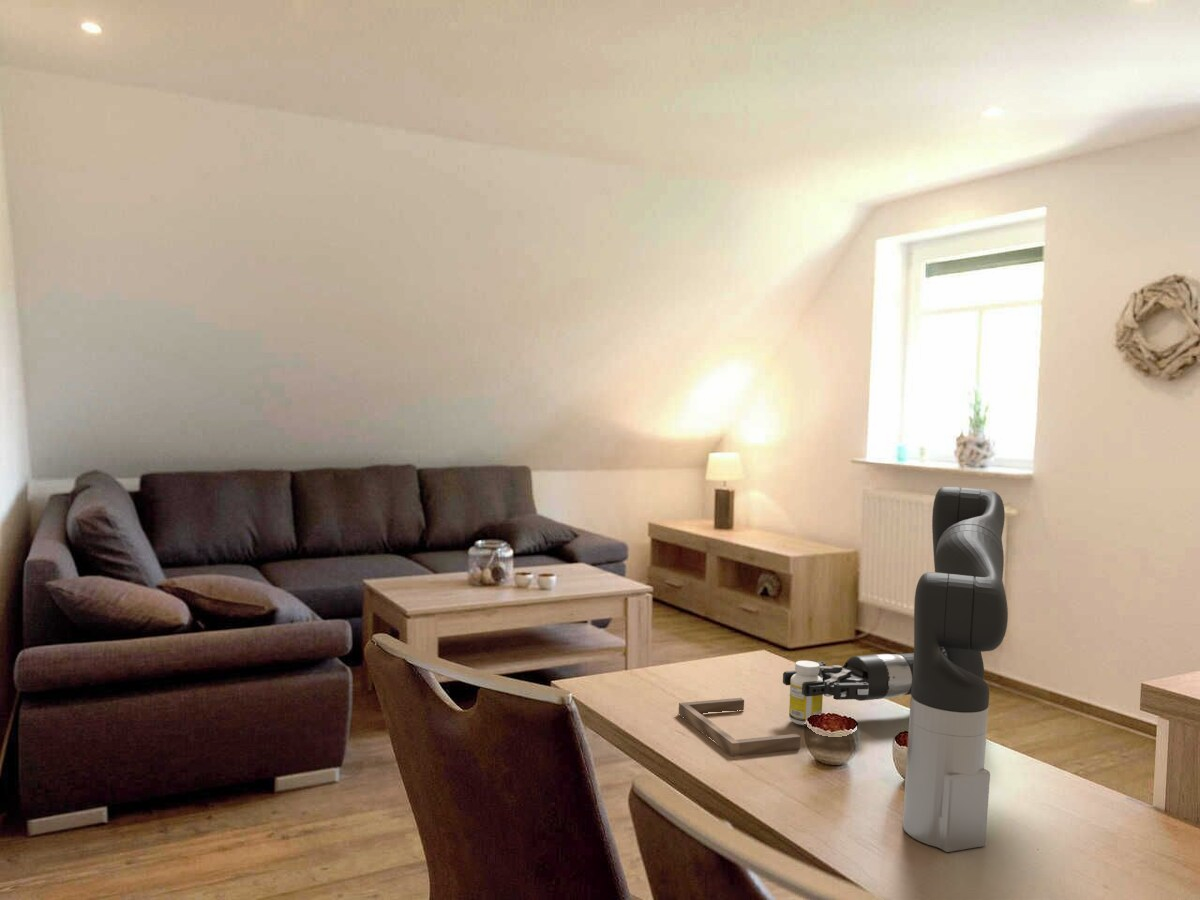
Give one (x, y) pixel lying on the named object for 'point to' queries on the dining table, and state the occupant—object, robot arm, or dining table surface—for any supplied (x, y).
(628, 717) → the dining table surface
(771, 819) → the dining table surface
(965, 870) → the dining table surface
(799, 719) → the supplement bottle
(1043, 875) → the dining table surface
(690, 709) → the walnut tray
